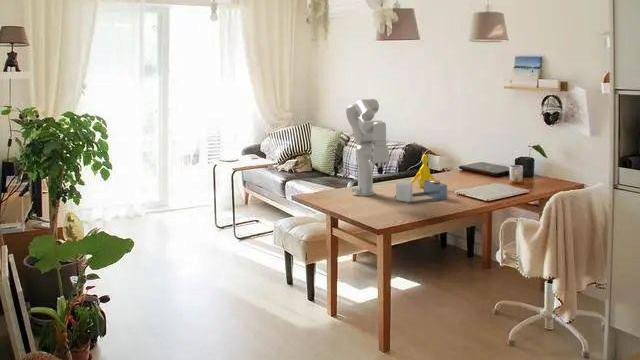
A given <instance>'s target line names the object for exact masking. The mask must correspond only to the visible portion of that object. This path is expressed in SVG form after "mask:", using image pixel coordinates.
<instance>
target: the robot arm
mask: <svg viewBox="0 0 640 360" xmlns="http://www.w3.org/2000/svg"><path fill="white" fill-rule="evenodd" d="M379 108H380V104H379V101H378V100H377V99H375V98H368V99H365V98H363V99H359V100H358V101H356V103H355V104H351V105H347V107H346V109H345V112H346V113H345V114H346V115H345V116H346V119H347V121H348V123H349V125H350V127H351V129H352V133H353V138H354V143H356V145H358V146H357V147H356V149H355V156H356V162H357V163H356V164H357V186H356V187H355V188H351V189H350V192H351V193H355V195H357V196H360V197H361V196H362V197H364V196H365V197H366V196H373V195H376V191H375V190H374V183H373V182H374V181H373V178H374V177H373V173H374V172H373V166H375V167H376V168H377V169H376V171H377V172H376V173H377V174H378V175H383V173H384V167H385V165H387V164H389V161H390V151H389V145H388V144H387V124H386V122H385V121H383V120H380V119H379V120H373V119H374V117H375V114H377V113H378V111H379ZM370 160H371V162H370Z"/></svg>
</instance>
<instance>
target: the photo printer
mask: <svg viewBox="0 0 640 360" xmlns="http://www.w3.org/2000/svg"><path fill="white" fill-rule="evenodd" d="M412 193H413V183H411V181H408V180H398V181H396V183H395V195H396V198H395V201H400V202H407V203H408V201H413V196H412Z"/></svg>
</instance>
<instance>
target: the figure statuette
mask: <svg viewBox="0 0 640 360" xmlns="http://www.w3.org/2000/svg"><path fill="white" fill-rule="evenodd" d="M428 161H429V158H428V155H427V154H423V155H422V157H421V162H422V166H421V167H420V168H419V170H418V172H417V173H416V175H415V176H414V177H413V178H412V179H411V180H410V182H411V183H412V184H413V183H414V182H415V181H416V180H417V179H418V186H419V187H420V188H424V180H437V179H436V178H435V177H434V176H433V175H432V174H431V170H430V167H428V165H427V164H428Z"/></svg>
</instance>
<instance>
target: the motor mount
mask: <svg viewBox="0 0 640 360" xmlns="http://www.w3.org/2000/svg"><path fill="white" fill-rule="evenodd" d="M417 196H418V197H419V196H428V197H430V198H425V199H416V200H412V201H408V202H407V203H408V205H415V204H422V203H423V204H424V203H429V202H439V201H440V202H441V201H445V200H448V185H447V184H445V183H443V182H441V180H439V179H436V180H432V179H430V180H424V187H423V191H421V192H412V197H417ZM394 199H396V194H395V195H394Z"/></svg>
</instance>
